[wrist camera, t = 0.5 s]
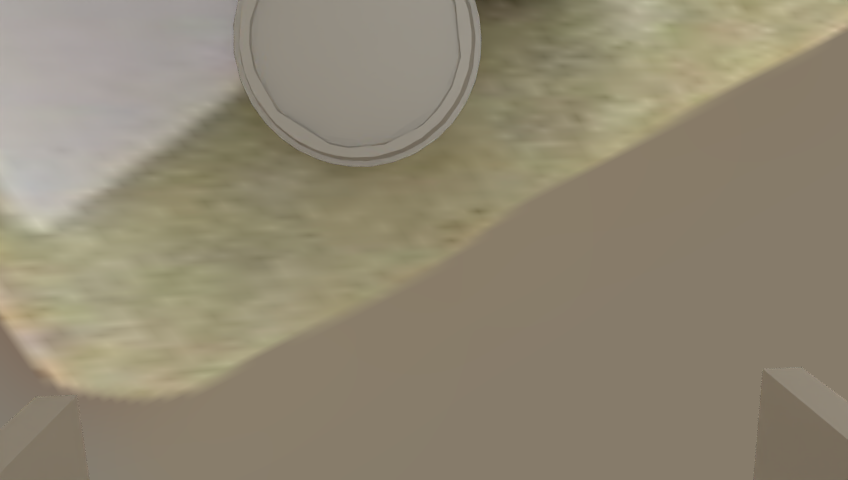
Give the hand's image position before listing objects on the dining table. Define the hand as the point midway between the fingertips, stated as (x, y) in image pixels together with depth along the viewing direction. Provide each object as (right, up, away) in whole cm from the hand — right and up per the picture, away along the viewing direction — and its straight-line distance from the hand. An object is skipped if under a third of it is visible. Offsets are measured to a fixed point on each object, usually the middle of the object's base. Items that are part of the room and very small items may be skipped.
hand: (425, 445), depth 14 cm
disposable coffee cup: (-3, +14, +25) cm, 29 cm away
